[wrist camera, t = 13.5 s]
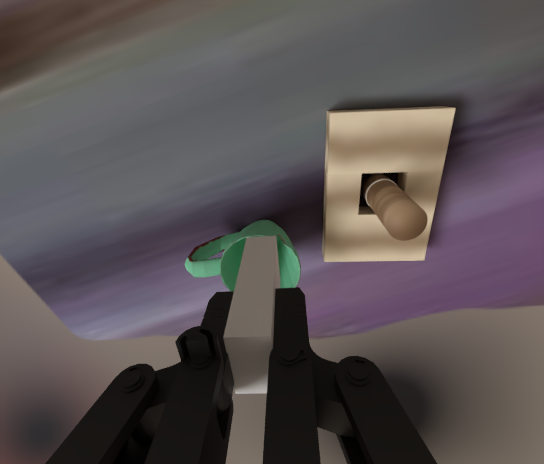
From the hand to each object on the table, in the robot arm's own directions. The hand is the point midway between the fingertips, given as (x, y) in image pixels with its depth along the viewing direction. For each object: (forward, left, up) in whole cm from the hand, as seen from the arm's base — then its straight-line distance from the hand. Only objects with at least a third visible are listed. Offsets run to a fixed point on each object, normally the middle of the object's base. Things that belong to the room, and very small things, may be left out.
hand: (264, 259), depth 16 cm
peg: (+5, +13, -27) cm, 31 cm away
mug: (+12, -5, -27) cm, 30 cm away
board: (+5, +13, -27) cm, 31 cm away
